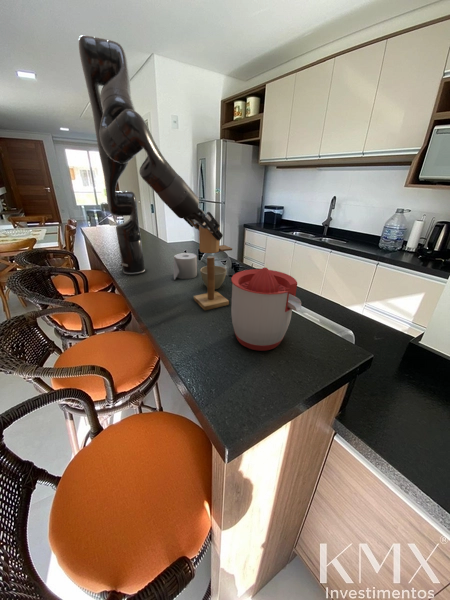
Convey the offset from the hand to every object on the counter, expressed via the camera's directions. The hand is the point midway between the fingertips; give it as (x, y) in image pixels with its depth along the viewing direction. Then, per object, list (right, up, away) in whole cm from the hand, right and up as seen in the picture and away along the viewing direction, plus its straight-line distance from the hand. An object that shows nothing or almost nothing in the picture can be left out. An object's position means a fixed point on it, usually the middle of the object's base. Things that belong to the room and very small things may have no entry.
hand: (213, 236), depth 77 cm
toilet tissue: (-14, -10, +31) cm, 36 cm away
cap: (0, -4, +2) cm, 4 cm away
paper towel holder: (-1, -21, +9) cm, 22 cm away
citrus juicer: (+13, -31, -10) cm, 35 cm away
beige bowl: (-1, -15, +21) cm, 26 cm away
